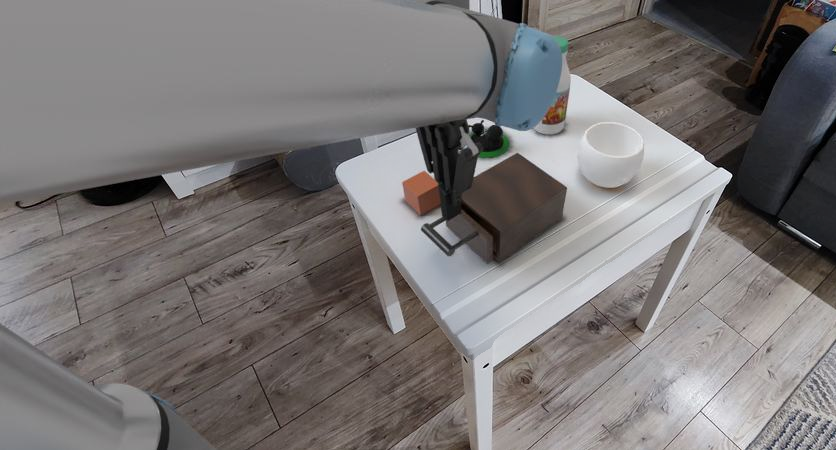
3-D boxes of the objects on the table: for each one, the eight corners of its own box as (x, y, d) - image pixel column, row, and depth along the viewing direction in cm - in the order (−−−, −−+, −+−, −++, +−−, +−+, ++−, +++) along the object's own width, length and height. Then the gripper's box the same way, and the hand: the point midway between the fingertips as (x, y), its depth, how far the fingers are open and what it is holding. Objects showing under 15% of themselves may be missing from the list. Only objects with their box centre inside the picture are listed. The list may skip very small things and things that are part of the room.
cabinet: (499, 263, 78) (500, 231, 72) (453, 221, 84) (451, 189, 78) (561, 219, 85) (567, 187, 79) (515, 184, 91) (517, 152, 85)
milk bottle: (527, 132, 103) (534, 47, 88) (533, 113, 108) (541, 29, 93) (561, 138, 102) (574, 52, 87) (566, 118, 107) (579, 34, 92)
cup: (564, 163, 96) (570, 125, 88) (617, 153, 98) (627, 115, 91) (589, 203, 88) (598, 165, 81) (646, 191, 90) (659, 153, 83)
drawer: (457, 284, 73) (455, 260, 69) (416, 243, 79) (412, 218, 74) (547, 222, 83) (551, 197, 78) (505, 189, 89) (506, 164, 84)
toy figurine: (487, 124, 104) (487, 102, 100) (518, 144, 100) (520, 121, 95) (454, 142, 100) (452, 120, 95) (485, 164, 95) (485, 142, 91)
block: (420, 215, 85) (417, 196, 81) (405, 201, 87) (401, 182, 83) (442, 203, 87) (440, 184, 83) (426, 189, 89) (424, 170, 86)
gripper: (500, 88, 52) (497, 226, 70) (432, 46, 58) (445, 182, 76) (448, 113, 49) (459, 251, 66) (382, 65, 55) (407, 203, 73)
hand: (451, 214), depth 71 cm, fingers closed
